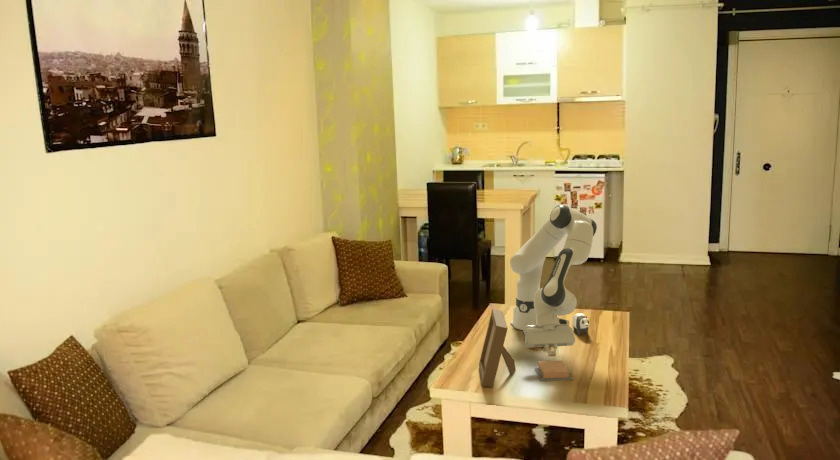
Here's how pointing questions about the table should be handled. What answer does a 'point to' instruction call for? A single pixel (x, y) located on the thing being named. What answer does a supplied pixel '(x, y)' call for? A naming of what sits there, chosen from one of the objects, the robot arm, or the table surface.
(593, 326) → the table surface
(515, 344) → the table surface
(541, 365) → the tile
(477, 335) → the table surface
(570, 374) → the mat
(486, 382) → the photo frame
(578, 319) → the giant panda
